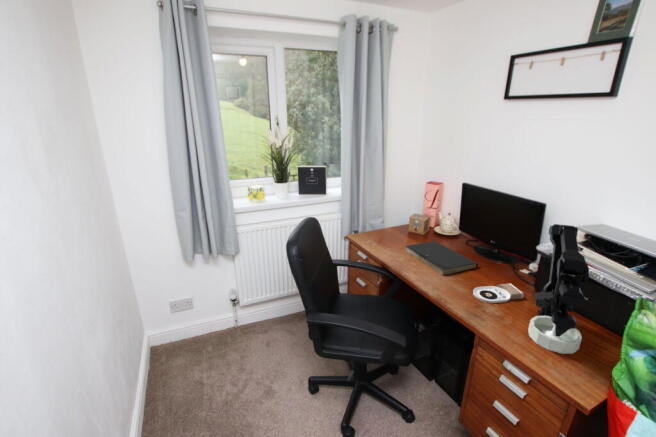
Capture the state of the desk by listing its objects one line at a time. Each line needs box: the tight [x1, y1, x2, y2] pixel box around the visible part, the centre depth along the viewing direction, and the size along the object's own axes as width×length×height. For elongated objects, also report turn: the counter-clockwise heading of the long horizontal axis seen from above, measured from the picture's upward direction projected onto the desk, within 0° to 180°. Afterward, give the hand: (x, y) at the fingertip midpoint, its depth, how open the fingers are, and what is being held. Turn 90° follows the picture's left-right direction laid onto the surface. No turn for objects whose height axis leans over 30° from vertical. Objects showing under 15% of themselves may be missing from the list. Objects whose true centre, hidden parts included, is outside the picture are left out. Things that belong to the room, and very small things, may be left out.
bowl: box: [528, 315, 583, 355], centre depth 113 cm, size 15×15×4 cm
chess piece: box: [545, 323, 561, 340], centre depth 112 cm, size 5×5×10 cm
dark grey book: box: [404, 240, 479, 276], centre depth 178 cm, size 33×4×24 cm
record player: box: [472, 283, 524, 304], centre depth 142 cm, size 12×3×20 cm
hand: (555, 328), depth 113 cm, fingers open, 9 cm apart
